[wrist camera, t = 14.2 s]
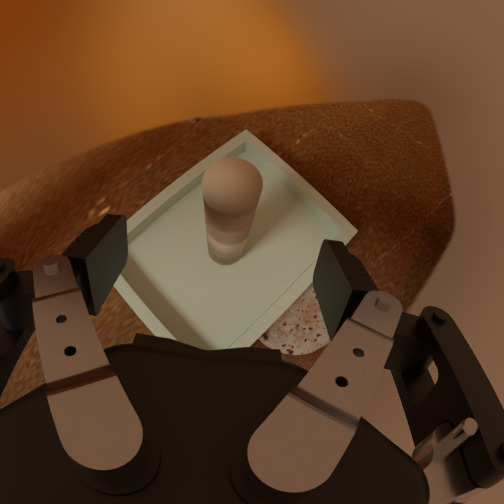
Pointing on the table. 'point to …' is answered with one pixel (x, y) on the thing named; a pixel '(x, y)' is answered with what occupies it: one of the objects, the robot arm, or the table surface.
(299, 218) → the sage tray
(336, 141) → the table surface
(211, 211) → the beech pin
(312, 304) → the flatbread
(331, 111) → the table surface
